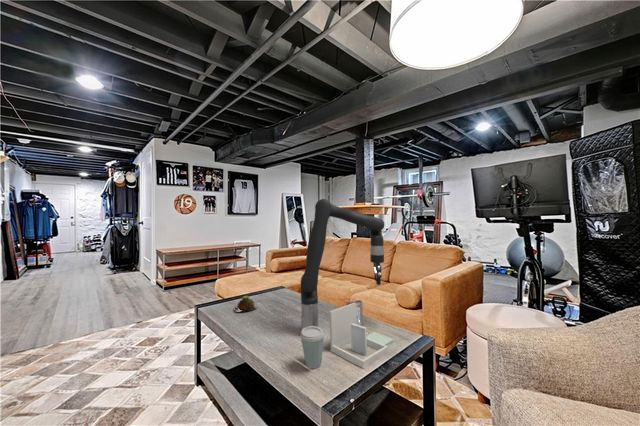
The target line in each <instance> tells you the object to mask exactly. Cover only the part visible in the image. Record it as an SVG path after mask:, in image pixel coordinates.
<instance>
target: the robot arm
mask: <svg viewBox="0 0 640 426" xmlns="http://www.w3.org/2000/svg"><path fill="white" fill-rule="evenodd" d="M330 217H331V218H336V219H339V220H341V221H342V220H343V221H346V222H348V223H351V224H354V225H355V226H356V225H357V226H361V227H365V228H368V229H369V233H370V248H369V249H370V250H369V252H370V255H369V257H370V259H369V260H370V263H372V264H373V267H372V269H373V274H374V278H373V279H374V281H375V283H376V285H378V286H380V285H381V283H382V281H381V280H382V279H381V278H382V265H381V264H382V263H385V247H384V236H383V234H382V231H383V229H384V228H385V221H384V220H383V219H382V218H380V217H377V216H372V215H367V214H366V213H362V212H359V211H356V210H351V209H347V208H343V207H339V206H338V205H337V206H336V205H335V204H333V203H331V202H330V200H328V199H326V198H322V199H319V200H318V201H317V202H315V205H314V221H313V224H312V228H311V231H310V235H309V239H308V242H307V249H306V262H305V264H306V265H305V269H304V271H303V273H304V274H302V275H301V278H300V300H301V301H300V303H301V316H300V321H301V323H300V324H301V330H302V329H304V328H305V327H309V326H316V327H319V328H320V326H319V325H320V324H319V323H320V322H319V298H318V297H319V296H318V285H319V271H320V266H321V262H322V259H323V255H324V251H325V245H326V240H327V239H326V238H327V230H328V229H327V227H328V222H329V218H330Z"/></svg>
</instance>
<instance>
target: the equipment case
mask: <svg viewBox="0 0 640 426" xmlns="http://www.w3.org/2000/svg"><path fill="white" fill-rule="evenodd" d="M353 302H354V301H353ZM356 317H357V319H358V322H359V324H360V326H362V325H361V323H360V320H359V318H358V316H356V303H355V302H354V303H352V304H349V305H346V304H345V305H343V306H342V307H341V306H340V307H337V308H336V309H332V310H329V334H330V335H329V337H330V341H329V342H330V352H331V353H332V354H336V355H337V356H339V357H341V358H343V359H345V360H347V361H348V362H350V363H352V364H354V365H356V366H357V367H360V368H362V369H366V368H367V367H369V366H370V365H372V364H374V363H375V362H376V361H378V360H380V359H381V358H383V357H385V356H386V355H387V354H389V345H388V346H385V345H383V344H381V343H378V342H376V341H373V340H371V339H368V338H367V347H370V348H373V349H375V350H376V351H375V352H373V353H372V354H370V355H367V357H365V358H364V359H363V358H361V357H358V356H357V355H355V354H353V353H350V352H348V351H346V350H344V349H342V348H343V347H345V346H347V345H349V344H351V324H352V323H353V324H357V323H356Z"/></svg>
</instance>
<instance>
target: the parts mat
mask: <svg viewBox="0 0 640 426" xmlns="http://www.w3.org/2000/svg"><path fill="white" fill-rule="evenodd" d="M367 338H368V339H371V340H373V341H376V342H378V343H381V344H383V345H385V346H388V347H389V346H390V345H391V344H393V343H395V338H391V337H389V336H386V335H384V334H382V333H379V332H376V331H373V332H372V333H370V334H368V335H367Z"/></svg>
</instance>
